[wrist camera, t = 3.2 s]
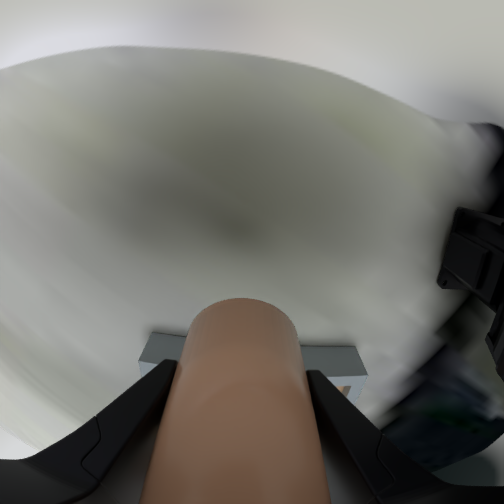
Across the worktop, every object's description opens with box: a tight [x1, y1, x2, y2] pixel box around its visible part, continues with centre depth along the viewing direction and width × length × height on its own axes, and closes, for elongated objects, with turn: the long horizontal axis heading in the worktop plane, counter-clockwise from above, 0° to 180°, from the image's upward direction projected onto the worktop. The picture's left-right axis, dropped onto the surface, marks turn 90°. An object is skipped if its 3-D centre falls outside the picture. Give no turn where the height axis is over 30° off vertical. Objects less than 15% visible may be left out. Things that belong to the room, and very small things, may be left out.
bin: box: [138, 332, 368, 405], centre depth 22 cm, size 16×16×4 cm
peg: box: [139, 298, 331, 504], centre depth 7 cm, size 4×4×7 cm
